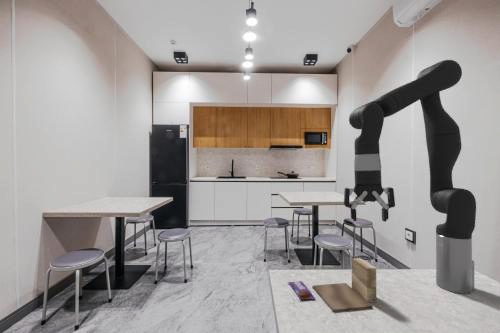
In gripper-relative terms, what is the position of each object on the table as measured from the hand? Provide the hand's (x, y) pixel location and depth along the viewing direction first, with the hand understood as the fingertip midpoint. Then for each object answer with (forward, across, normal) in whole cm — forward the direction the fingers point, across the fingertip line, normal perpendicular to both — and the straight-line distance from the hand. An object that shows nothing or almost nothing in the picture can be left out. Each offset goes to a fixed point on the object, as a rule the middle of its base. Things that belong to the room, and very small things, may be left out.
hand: (369, 220), depth 76 cm
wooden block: (+23, +2, 0) cm, 23 cm away
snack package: (+23, +22, +2) cm, 32 cm away
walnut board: (+23, +10, +3) cm, 25 cm away
